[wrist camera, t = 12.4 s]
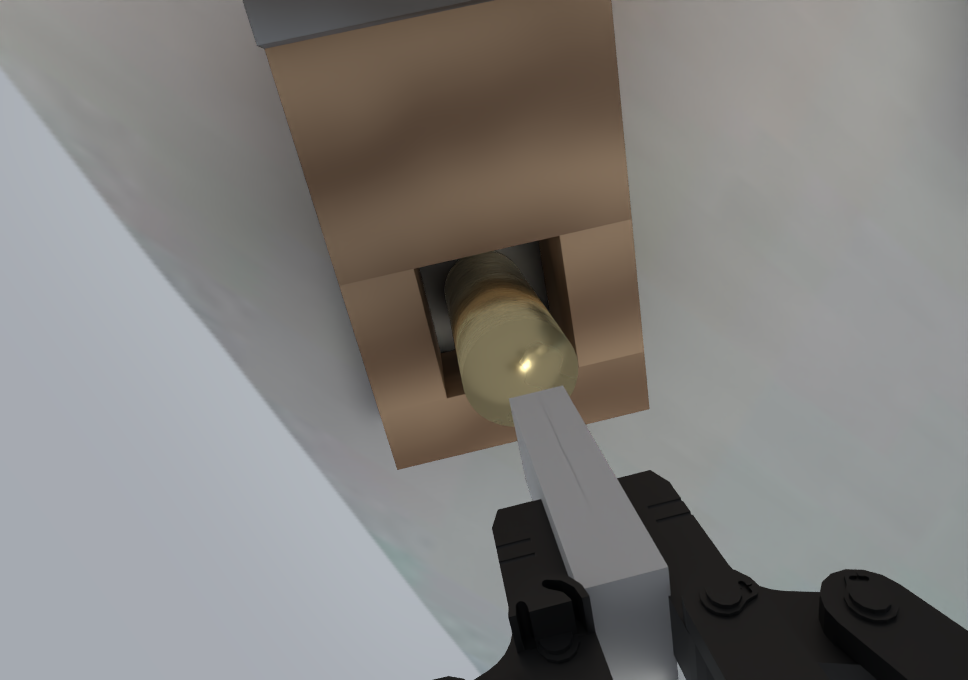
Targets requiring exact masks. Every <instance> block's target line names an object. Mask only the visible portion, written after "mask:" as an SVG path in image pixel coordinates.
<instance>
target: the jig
mask: <svg viewBox="0 0 968 680" xmlns="http://www.w3.org/2000/svg"><path fill="white" fill-rule="evenodd" d="M243 3H244V6H245V9H246V13H247V16H248V19H249V22H250V25H251V28H252V31H253V34H254V38H255V41H256V44H257V46H259V47H261V48H264V49H265V52H266V55H267V58H268V62H269V65H270V68H271V71H272V74H273V77H274V81H275V84H276V87H277V90H278V93H279V96H280V100H281V103H282V106H283V109H284V112H285V115H286V119H287V122H288V125H289V128H290V131H291V134H292V138H293V141H294V144H295V147H296V150H297V153H298V157H299V160H300V163H301V166H302V169H303V172H304V176H305V179H306V182H307V185H308V188H309V191H310V195H311V198H312V201H313V204H314V207H315V210H316V214H317V217H318V220H319V223H320V226H321V229H322V233H323V236H324V239H325V242H326V245H327V248H328V252H329V255H330V258H331V261H332V264H333V267H334V271H335V274H336V277H337V280H338V283H339V286H340V289H341V293H342V296H343V299H344V302H345V305H346V308H347V312H348V315H349V318H350V321H351V324H352V327H353V331H354V334H355V337H356V340H357V343H358V346H359V350H360V353H361V356H362V359H363V362H364V365H365V369H366V372H367V375H368V378H369V381H370V384H371V388H372V391H373V394H374V397H375V400H376V403H377V407H378V410H379V413H380V416H381V419H382V422H383V426H384V429H385V432H386V435H387V438H388V441H389V445H390V448H391V451H392V454H393V457H394V460H395V464H396V467H397V470H399V469H403V468H407V467H411V466H415V465H419V464H424V463H428V462H432V461H436V460H440V459H444V458H448V457H453V456H457V455H461V454H465V453H469V452H473V451H477V450H482V449H486V448H490V447H494V446H498V445H502V444H506V443H511V442H515V441H518V440H517V436H516V431H515V427H512V426H504V425H499V424H496V423H493V422H491V421H489V420H487V419H486V418H484V417H482V416H481V415H480V414H479V413H477V412H476V411H475V409H474V408H473V407H472V406H471V404H470V403H469V401H468V399H467V397H466V395H465V392H464V389H463V384H462V379H461V374H460V369H459V364H458V359H457V354H456V350H453V351H449V352H445V353H441V352H440V348H439V344H438V340H437V336H436V332H435V328H434V324H433V320H432V316H431V312H430V308H429V305H428V301H427V297H426V293H425V289H424V285H423V281H422V277H421V273H420V269H419V268H420V267H424V266H428V265H433V264H437V263H442V262H446V261H450V260H455V259H459V258H464V257H468V256H472V255H477V254H481V253H486V252H490V251H494V250H499V249H503V248H507V247H512V246H516V245H521V244H525V243H529V242H534V241H538V242H539V248H540V254H541V260H542V266H543V273H544V279H545V285H546V291H547V297H548V303H549V310H550V314H551V316H552V317H553V319H554V320H555V322H556V323H557V324H558V326H559V327H560V329H561V330H562V332H563V333H564V334H565V336H566V337H567V339H568V340H569V342H570V343H571V345H572V347H573V348H574V351H575V353H576V356H577V361H578V377H577V382H576V385H575V388H574V390H573V392H572V394H571V396H570V399H571V400H572V402H573V404H574V405H575V407H576V409H577V411H578V412H579V414H580V416H581V418H582V419H583V421H584V423H585V424H589V423H593V422H598V421H602V420H606V419H610V418H614V417H618V416H622V415H627V414H631V413H635V412H639V411H643V410H647V409H649V400H648V389H647V378H646V368H645V357H644V346H643V335H642V325H641V314H640V303H639V293H638V282H637V271H636V260H635V250H634V239H633V228H632V218H631V207H630V196H629V185H628V175H627V164H626V153H625V143H624V132H623V121H622V110H621V100H620V89H619V78H618V68H617V57H616V46H615V36H614V25H613V14H612V3H611V0H243Z"/></svg>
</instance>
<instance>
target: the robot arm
mask: <svg viewBox="0 0 968 680" xmlns="http://www.w3.org/2000/svg"><path fill="white" fill-rule="evenodd" d="M509 402H510V407H511V411H512V416H513V421H514V426H515V431H516V436H517V440H518V445H519V450H520V455H521V460H522V465H523V469H524V474H525V479H526V483H527V486H528V489H529V492H530V495H531V498H532V501H531V502H527V503H523V504H519V505H515V506H511V507H507V508H503V509H499V510H498V511H497V514H496V517H495V520H494V524H493V527H492V530H493V535H494V540H495V544H496V549H497V554H498V559H499V563H500V568H501V573H502V578H503V582H504V587H505V592H506V597H507V601H508V606H509V612H508V618H509V622H510V626H511V630H512V638H511V642H510V645H509V647H508V649H507V651H506V653H505V655H504V656H503V657H502V658H501V660H500V661H499V662H498V663H497V664H496V665H495V666H493V667H492V668H491V669H490V670H488V671H487V672H486V673H484V674H482V675H481V676H479V677H478V678H476V679H475V680H677V679H678V670H677V662H678V664H679V666H680V668H681V670H682V672H683V674H684V676H685V678H686V680H968V631H967V630H966V629H964V628H963V627H961V626H960V625H959V624H957V623H956V622H954V621H953V620H951V619H950V618H948V617H947V616H945V615H944V614H942V613H941V612H940V611H938V610H937V609H935V608H934V607H932V606H931V605H929V604H928V603H926V602H925V601H923V600H922V599H921V598H919V597H918V596H916V595H915V594H913V593H912V592H910V591H909V590H907V589H906V588H905V587H903V586H902V585H900V584H898V583H896V582H894V581H893V580H891V579H889V578H887V577H885V576H883V575H880V574H877V573H873V572H869V571H866V570H850V569H845V570H842V571H838V572H835V573H832V574H830V575H829V576H828V577H827V578H826V579H825V580H824V581H823V582H822V585H821V590H820V592H799V591H780V590H771V589H768V588H764V587H761V586H759V585H758V584H757V583H756V582H755V581H753V580H752V579H751V578H750V577H748V576H746V575H744V574H742V573H740V572H738V571H736V570H733V569H732V568H731V567H730V566H729V565H728V563H727V562H726V561H725V559H724V558H723V556H722V555H721V554H720V552H719V551H718V549H717V548H716V547H715V545H714V544H713V542H712V541H711V540H710V538H709V537H708V535H707V534H706V533H705V531H704V530H703V528H702V527H701V526H700V524H699V523H698V521H697V520H696V519H695V517H694V516H693V515H691V513H690V510H689V509H688V507H687V506H686V505H685V503H684V502H683V501H681V498H680V496H679V495H678V494H677V492H676V491H675V489H674V488H673V487H672V485H671V484H670V482H669V481H667V480H665V479H664V478H662V477H661V476H659V475H657V474H656V473H654V472H653V471H651V470H649V471H645V472H641V473H637V474H633V475H629V476H625V477H621V478H616V476H615V474H614V473H613V471H612V469H611V467H610V466H609V464H608V462H607V461H606V459H605V457H604V455H603V454H602V452H601V450H600V449H599V447H598V445H597V443H596V442H595V440H594V438H593V436H592V435H591V433H590V431H589V430H588V428H587V426H586V424H585V423H584V421H583V419H582V418H581V416H580V414H579V412H578V411H577V409H576V407H575V405H574V404H573V402H572V400H571V399H570V397H569V395H568V393H567V392H566V390H565V388H564V386H559V387H554V388H550V389H546V390H542V391H538V392H534V393H530V394H525V395H521V396H517V397H513V398H509ZM434 680H465V679H462V678H456V677H450V676H447V677H443V678H438V679H434Z"/></svg>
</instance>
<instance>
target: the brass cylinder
mask: <svg viewBox="0 0 968 680" xmlns="http://www.w3.org/2000/svg"><path fill="white" fill-rule="evenodd" d="M445 299H446V304H447V309H448V314H449V319H450V324H451V329H452V334H453V339H454V344H455V349H456V354H457V359H458V364H459V369H460V374H461V379H462V384H463V389H464V392H465V395H466V397H467V399H468V401H469V403H470V404H471V406H472V407H473V408H474V409H475V411H476V412H477V413H479V414H480V415H481V416H482V417H484V418H486V419H487V420H489V421H491V422H493V423H496V424H499V425H504V426H512V427H515V426H514V421H513V416H512V411H511V407H510V402H509V398H513V397H517V396H521V395H525V394H530V393H534V392H538V391H542V390H546V389H550V388H554V387H559V386H564V388H565V390H566V392H567V393H568V395H569V397H570V396H571V394H572V392H573V390H574V388H575V385H576V382H577V377H578V361H577V356H576V353H575V351H574V348H573V347H572V345H571V343H570V342H569V340H568V339H567V337H566V336H565V334H564V333H563V332H562V330H561V329H560V327H559V326H558V324H557V323H556V322H555V320H554V319H553V317H552V316H551V314H550V313H549V312H548V310H547V309H546V307H545V306H544V304H543V303H542V302H541V300H540V299H539V297H538V296H537V295H536V293H535V292H534V290H533V289H532V287H531V286H530V285H529V283H528V282H527V280H526V279H525V277H524V276H523V275H522V273H521V272H520V270H519V269H518V267H517V266H516V265H515V264H514V262H512V261H511V260H510V259H509V258H508V257H506V256H504V255H503V254H500V253H498V252H494V251H490V252H486V253H481V254H477V255H472V256H468V257H464V258H461V259H460V260H459V261H457V262H456V264H455V265H454V266H453V267H452V268H451V270H450V272H449V273H448V276H447V278H446V282H445Z"/></svg>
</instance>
